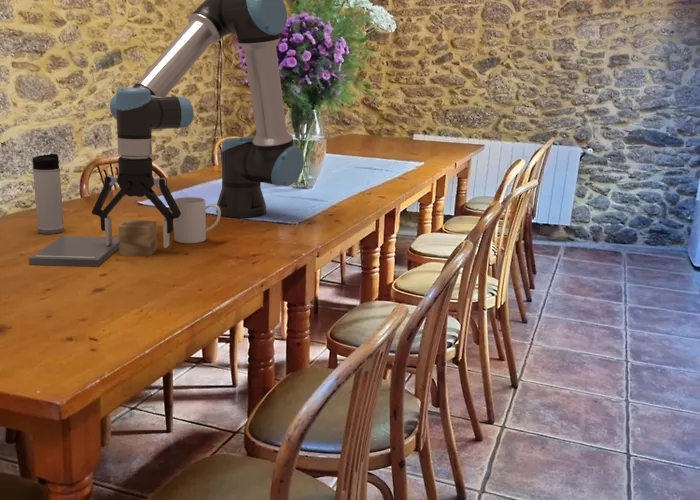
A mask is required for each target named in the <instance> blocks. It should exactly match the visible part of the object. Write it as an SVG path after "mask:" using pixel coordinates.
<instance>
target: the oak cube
mask: <svg viewBox="0 0 700 500" xmlns="http://www.w3.org/2000/svg"><path fill="white" fill-rule="evenodd" d="M118 237H119V246H120V248H119V256H127V257H130V256H134V257H151V256H152V254H154V253H155V251H156V250H157V249H158V238H157V237H158V235H157V220H140V219H139V220H137V219H136V220H135V219H126V220H125V221H124V222H123V223H120V225H119V226H118Z"/></svg>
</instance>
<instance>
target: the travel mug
mask: <svg viewBox="0 0 700 500" xmlns="http://www.w3.org/2000/svg"><path fill="white" fill-rule="evenodd" d="M32 171H33V173H32V174H33V186H34V197H35V208H36V209H35V210H36V223H37V231H38V233H39V234H42V235H54V234H60V233H63V232H64V231H65V226H64V209H63V198H62V197H63V195H62V194H63V193H62V182H61V181H62V180H61V172H60V160H59V155H58V154H57V153H50V154H42V155H41V154H40V155H36V156H33V158H32Z"/></svg>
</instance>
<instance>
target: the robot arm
mask: <svg viewBox="0 0 700 500" xmlns="http://www.w3.org/2000/svg"><path fill="white" fill-rule="evenodd" d="M287 21H288V11H287V7H286V3H285V1H284V0H204V1H203V2H202V3H200V4H199V6H198V7H197V8H196V9H195V10H194V11H193V12H192V13H191V14H190V15H189V17H188V24H187V25H186V26H185V28H183V29H182V30H181V32H180V33H179V34H178V35H177V36H176V37H175V39H173V41H172V42H171V43H170V44H169V45H168V46H167V47H166V49H165V50H164V51H163V52H162V53H161V54H160V56H158V57H157V59H156V60H155V61H154V62H153V63H152V64H151V65H150V66H149V68H148V69H147V70H146V71H145V72H144V74H142V75H141V77H140V78H139V79H138V80H137V81H136V82H135V83H134V84H133V86H132V87H119V88H117V90H116V94H114V95H113V97H112V98H111V99H110V103H109V110H110V113H111V116H112V117H113V119H115V120H116V131H117V132H116V133H117V134H116V135H117V138H116V139H117V154H118V155H119V157H118V158H117V162H118V165H117V166H118V167H117V168H118V176H117V177H116V176H113V175H112V174H109V175H106V176H105V177H104V181H103V183H104V184H103V188H102V189H101V191H100V193H99V196H98V198H97V200H96V202H95V204H94V206H93V208H92V211H91V214H92V215H94V216H98V217H99V219H100V230H101V231H103V232H104V234H105V236H104V237H105V239H106V245H110V244H111V243H112V237H113V228H112V227H113V224H112V223H113V222H112V216H111V215H109V214H110V213H111V211H112V210H114V208H115V207H116V206H117V204H119V203H120V202H121V200H122V199H123V197H124V196H125V195H126V196H128V197H138V198H142V197H144V196H145V197H146V199H148V200H149V201H150V202H151V203H152V204H153V205H154V206H155V208H156V209H157V210H158V211H159V213H161V215H162V216H163V217H164V219H163V220H162V227H163V228H162V229H163V230H162V231H163V232H162V233H163V248H165V249H166V248H168V247H169V246H170V234H172V233H173V232H174V219H175V218H178V217H179V216H180V215H181V212H180V210H179V208H178V206H177V204H176V202H175V200H174V199H175V198H174V197H173V194H172V193H171V191H170V189H169V187H168V182H167V181H168V180H167V178H166V177H164V176H163V177H161V178H154V175H153V158H152V157H151V156H152V154H153V148H152V147H153V146H152V145H153V143H152V142H153V137H152V136H153V135H152V130H167V129H170V130H171V129H176V130H179V129H184V128H187V127H189V126H190V125H191V124H192V122H193V120H194V118H195V117H194V114H195V113H194V106H193V104H192V103H191V101H190V100H189V99H188V98H186V97H185V96H177V95H173V96H168V94H169V93H170V92H171V91H172V90H173V89H174V88H175V86H176V85H177V84H178V83H179V82H180V80H182V78H183V77H184V76H185V75H186V73H188V71H189V70H190V69H191V68H192V66H193V65H194V64H195V63H196V62H197V61H198V59H199V58H200V57H201V56H202V55H203V54H204V52H206V50H207V49H208V48H209V47H210V46H211V45H215V44H217V43H219V42H220V40H221V39H222V38H223V37H225V36H227V35H232V34H233V35H236V40H237V44H238V45H239V46H240V47H241V48H243V49H244V55H245V56H244V57H245V63H246V69H247V78H248V84H249V90H250V91H249V92H250V99H251V104H252V110H253V118H254V124H255V131H256V132H255V134H256V136H242V137H241V136H240V137H231V138H230V137H229V138H225V139H224V140H223V141H222V142H221V151H220V154H221V158H220V159H221V190H220V193H219V196H218V199H217V203H216V205H218V206H219V208H220V210H221V216H223V217H229V218H230V217H231V218H256V217H260V216H264V215H266V214H267V203H266V201H265V197H264V195H263V191H262V188H261V186H262V185H261V183H263V184H268V185H274V186H277V187H279V186H281V187H288V186H291V185H293V184H295V183H296V182H297V181H298V180H299V178H300V176H301V174H302V173H303V169H304V166H305V165H304V164H305V156H304V153H303V151H302V150H301V148H300V147H298V146H296V145H295V143H294V136H293V135H292V134H291V133H289V132H288V130H287V123H286V115H285V107H284V99H283V92H282V91H283V90H282V84H281V76H280V68H279V67H280V66H279V59H278V52H277V51H278V49H277V45H278V43H279V42H280V41H281V33H282V32H283V31H284V30H285V28H286V23H287ZM116 183H117V184H118V186H119V187H120V188H121V189H119V191H118V192H117V193H116V195H115V196H114V197H113V198H112V200H110V202H109V203H107V205H106V207H104V209H103V210H102V208H103V206H104V204H105V203H106V200H107V199H108V196H109V194H110V191H111V189H112V187H113V186H115V184H116ZM154 185H156V187H157V189H158V188H159V189H160V192H161V193H162V196H163V198H164V200H165V202H166V204H167V206H168V207H169V208H168V207H167V206H166V205H165V203H164V202H163V201H162V200H161V199H160V198H159V196H158V195H157V194H156V192H155V191H154V189H153V186H154ZM215 209H216V208H215ZM265 213H266V214H265ZM216 214H218V211H217V209H216Z"/></svg>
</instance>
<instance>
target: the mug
mask: <svg viewBox="0 0 700 500" xmlns="http://www.w3.org/2000/svg"><path fill="white" fill-rule="evenodd" d="M174 200H175V202H176V204H177V206H178V208H179V210H180V212H181V215H180V216H179V217H178V218H175V219H173V232H174V241H176V242H178V243H182V244H198V243H199V244H200V243H203V242H205V241H206V238H207V232H208V231H210V230H212V229H213V228H214V227H216V225H218V223H219V222H220V220H221V216H222V215H221V210H220V208H219V206H218V205H217V203H216V204H215V203H210V204H207V205H206V199H205V198H203V197H198V196H197V197H196V196H183V197H177V198H174ZM211 207H213V208H215V209H217V211H218V213H217V215H216V216H217V217H216V219H215V221H214V223H213V224H211V225H210V226H208V227H207V225H206V223H207V221H206V218H207V217H206V210H208V209H209V208H211Z"/></svg>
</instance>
